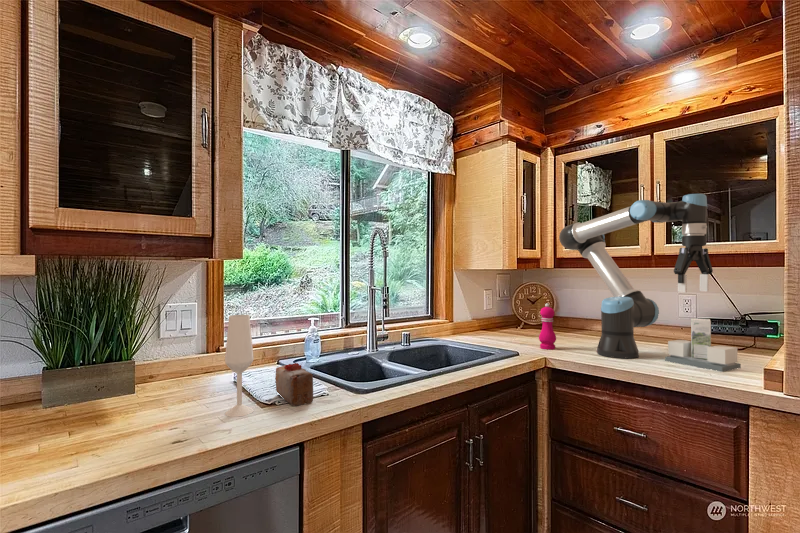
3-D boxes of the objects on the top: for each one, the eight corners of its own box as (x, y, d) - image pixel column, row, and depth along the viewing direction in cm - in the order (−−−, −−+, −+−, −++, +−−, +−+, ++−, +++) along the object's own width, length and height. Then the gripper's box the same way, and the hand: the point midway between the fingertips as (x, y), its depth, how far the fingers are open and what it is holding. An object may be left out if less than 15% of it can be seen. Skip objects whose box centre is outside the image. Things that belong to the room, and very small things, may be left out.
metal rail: (670, 355, 158) (670, 353, 158) (678, 354, 161) (678, 352, 161) (727, 366, 141) (727, 363, 141) (735, 364, 144) (735, 362, 144)
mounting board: (665, 360, 157) (665, 356, 157) (683, 357, 162) (683, 353, 162) (722, 371, 140) (722, 367, 140) (740, 367, 145) (740, 363, 145)
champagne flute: (221, 417, 98) (221, 317, 99) (228, 408, 105) (228, 314, 105) (251, 415, 100) (251, 316, 100) (255, 406, 106) (255, 314, 106)
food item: (271, 395, 116) (271, 360, 116) (298, 390, 121) (298, 356, 121) (289, 408, 105) (289, 370, 105) (318, 402, 110) (318, 365, 110)
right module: (707, 361, 146) (707, 347, 146) (719, 358, 149) (719, 345, 149) (725, 364, 141) (725, 349, 141) (737, 361, 144) (737, 347, 144)
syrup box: (710, 357, 152) (709, 318, 152) (711, 360, 147) (710, 319, 147) (691, 355, 155) (691, 317, 155) (691, 358, 150) (691, 318, 150)
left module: (668, 354, 158) (668, 341, 158) (680, 352, 161) (680, 339, 161) (683, 356, 153) (683, 343, 153) (695, 354, 156) (695, 341, 156)
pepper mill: (535, 348, 182) (535, 303, 182) (544, 346, 187) (543, 302, 187) (551, 350, 177) (550, 304, 177) (559, 348, 182) (558, 303, 182)
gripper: (684, 233, 146) (683, 293, 146) (724, 235, 157) (723, 291, 157) (663, 234, 153) (662, 291, 153) (702, 236, 163) (702, 290, 164)
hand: (693, 291), depth 155 cm, fingers open, 13 cm apart
